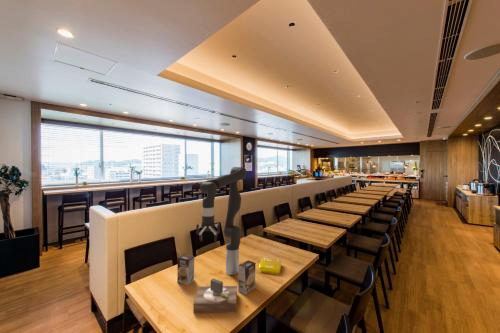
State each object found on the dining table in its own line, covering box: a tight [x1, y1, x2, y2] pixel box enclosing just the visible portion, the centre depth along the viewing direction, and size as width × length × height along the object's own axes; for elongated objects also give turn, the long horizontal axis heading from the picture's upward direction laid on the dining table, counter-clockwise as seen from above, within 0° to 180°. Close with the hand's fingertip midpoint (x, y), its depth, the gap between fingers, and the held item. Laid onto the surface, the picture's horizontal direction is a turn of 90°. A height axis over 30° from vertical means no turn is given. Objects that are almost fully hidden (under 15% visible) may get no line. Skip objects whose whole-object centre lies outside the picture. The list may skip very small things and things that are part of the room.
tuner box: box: [192, 285, 238, 314], centre depth 116 cm, size 15×22×6 cm
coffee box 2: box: [237, 259, 256, 296], centre depth 128 cm, size 9×6×16 cm
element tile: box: [258, 257, 282, 275], centre depth 155 cm, size 15×15×5 cm
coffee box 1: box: [177, 253, 195, 285], centre depth 137 cm, size 9×6×16 cm
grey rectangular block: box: [210, 278, 227, 297], centre depth 115 cm, size 10×4×7 cm, turn 61°
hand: (208, 240), depth 128 cm, fingers open, 8 cm apart
